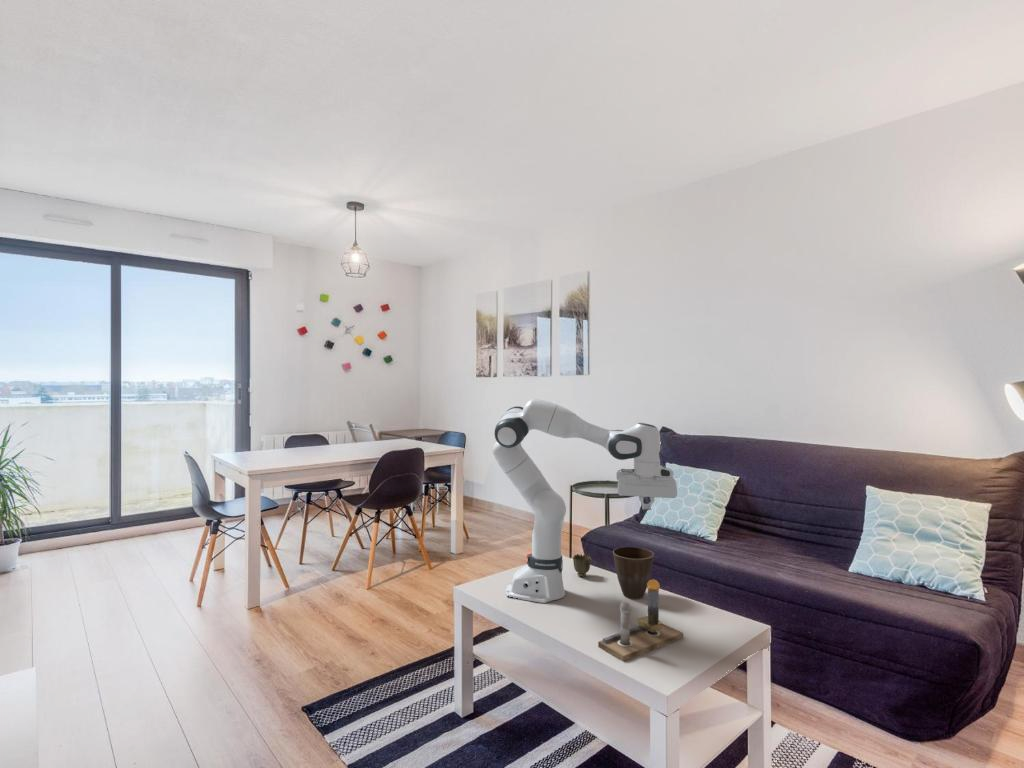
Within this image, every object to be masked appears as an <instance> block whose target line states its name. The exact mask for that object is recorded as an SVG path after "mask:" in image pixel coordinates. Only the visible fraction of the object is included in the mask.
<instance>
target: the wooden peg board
mask: <svg viewBox="0 0 1024 768" xmlns="http://www.w3.org/2000/svg"><path fill="white" fill-rule="evenodd" d="M619 610H620V632H618V633H615V634H613V635H609V636H606V637H603V638H602V640H598V642H597V644H598V645H597V647H598V648H600V649H602V650H603V651H604V652H606V653H608V654H610V655H611V656H613V657H615V658H616V659H618V660H620V661H622V662H626V661H628V660H630V659H633V658H635V657H638V656H640V655H643V654H646V653H647V652H650V651H653V650H656V649H658V648H661V647H664V646H666V645H668V644H670V643H673V642H675V641H678V640H681V639H683V638H684V634H683V633H684V632H682V631H680V630H678V629H676V628H674V627H672V626H670V625H669V626H668V625H667V624H665V623H663V622H661V620H659V622H661V623H662V629H660V630H657V631H655V632H651V631H649V630H647V629H645V628H643V627H640V626H638V625H637V626H636V627H633V628H630V626H631V625H630V624H631V620H630V619H631V610H632V608H631V605H630V604H629V602H626V601H622V602H621V603H620V605H619Z"/></svg>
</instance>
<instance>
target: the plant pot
mask: <svg viewBox="0 0 1024 768" xmlns="http://www.w3.org/2000/svg"><path fill="white" fill-rule="evenodd" d="M612 554H613V555H612V556H613V560H614V561H613V562H614V568H615V572H616V575H617V576H616V577H617V580H618V583H619V585H620V589H621V592H622V595H623V597H625V598H627V599H630V600H641V599H643V598H644V596H645V594H646V591H647V590H648V588H647V583H648V581H649V580H651V579H650V578H651V575H652V569H653V564H654V558H655V557H654V556H655V553H654V552H653V551H651V550H649V549H647V548H643V547H636V546H622V547H616V548H614V549H613V550H612Z"/></svg>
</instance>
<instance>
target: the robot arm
mask: <svg viewBox="0 0 1024 768" xmlns="http://www.w3.org/2000/svg"><path fill="white" fill-rule="evenodd" d="M532 430H537V431H540V432H541V433H545V434H547V435H550V436H553V437H557V438H562V439H573V438H575V439H576V438H577V439H583V440H585V441H589V442H591V443H594V444H595V445H599V446H601V447H603V448H604V449H606V451H608V452H609V454H610V455H611V456H612V457H613V458H614V459H616V460H619V461H625V460H629V459H633V468H626V469H625V468H620V469H619V470H617V472H616V476H615V477H616V481H618V482H617V489H616V490H617V495H619V496H620V497H621V496H622V497H625V496H626V497H638V500H639V502H640V503H641V505H642V506H641V507H642V510H643V511H644V510H645V511H651V510H652V505H653V504H654V502H655V498H663V499H666V498H667V499H676V497H678V487H677V486H678V485H677V481H676V480H675V478H674V470H672V469H671V468H669V467H666V466H664V465H661V459H660V451H661V437H660V431H659V429H658V427H657V426H655V425H653V424H649V423H645V422H637V423H636V424H635V425H633V426H632V427H629V428H627V429H625V430H622V429H614V430H613V429H606V428H604V427H601V426H598V425H595V424H593V423H589V422H588V421H586V420H584V419H583V418H581V417H580V416H579V415H577V414H576V413H575V412H573V411H571V409H568V408H566V407H564V406H562V405H559V404H557V403H554V402H551V401H547V400H543V399H540V398H539V399H538V398H532V399H530V400H528V401H527V402H525V404H524V406H523V407H522V406H516V405H515V406H513V407H510V408H509V409H507V410H506V411H505V413H504V414H503V415H502V416H501V417H500V419H499V421H498V422H497V424H496V425H495V429H494V438H495V443H494V444H493V447H492V454H493V456H494V459H495V460H496V462H497V463H498V465H499V467H500V469H501V470H502V471H503V472H504V474H505V476H506V477H507V478H508V479H509V481H510V482H511V483H512V484H513V486H514V487H515V488H516V489H517V491H518V492H519V494H520V495H521V496H522V498H523V499H524V501H525V502H526V503H527V504H528V506H529V508H530V509H531V510H532V511H533V512H534V523H533V524H534V525H533V530H532V534H531V551H528V553H527V554H526V564H525V565H523V566H521V568H519V569H518V570H517V571H515V573H514V574H513V576H512V580H511V583H509V584H508V585H507V586H506V588H505V592H504V594H506V595H507V596H509V597H508V598H510V597H513V598H512V599H516V598H518V599H517V600H523V601H530V602H535V603H541V604H546V603H549V602H552V601H555V600H560V599H562V598H564V597H565V596H566V591H565V586H564V581H563V573H562V572H563V566H564V563H563V561H564V560H563V554H562V535H563V527H564V522H565V516H566V515H567V514H566V513H567V506H566V503H565V500H564V498H563V497H562V496H561V495H560V494H559V493H557V492H556V491H555V490H554V489H553V488H552V487H551V484H550V483H549V482H548V481H547V479H546V478H545V476H544V475H543V473H542V472H541V470H540V469H539V468H538V466H537V465H536V464H535V462H534V460H533V459H532V458H531V457H530V456H529V454H528V453H527V452H526V450H525V449H524V447H523V446H522V444H521V443H522V442H523V441H524V440H525V438H526V436H527V435H528V434H529V432H530V431H532ZM644 498H649V500H650V501H649V503H644V501H643V500H644ZM506 595H505V596H506ZM507 596H506V597H507Z"/></svg>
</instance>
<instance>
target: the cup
mask: <svg viewBox="0 0 1024 768" xmlns="http://www.w3.org/2000/svg"><path fill="white" fill-rule="evenodd" d="M572 561H573V562H572V563H573V568H574V570H575V572H576V574H577V576H578V577H579V576H582V577H581V578H584V577H583V576H585V577H586V576H587V573H588V572H589V571H590V568H591V561H592V557H591V556H590V555H587V554H582V553H581V554H579V553H577V554H574V555H573V556H572Z"/></svg>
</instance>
